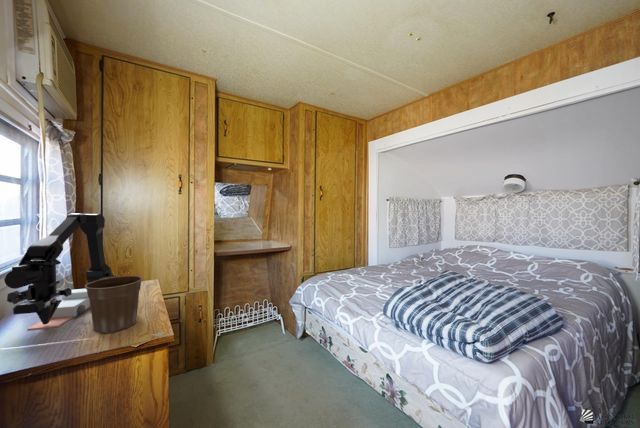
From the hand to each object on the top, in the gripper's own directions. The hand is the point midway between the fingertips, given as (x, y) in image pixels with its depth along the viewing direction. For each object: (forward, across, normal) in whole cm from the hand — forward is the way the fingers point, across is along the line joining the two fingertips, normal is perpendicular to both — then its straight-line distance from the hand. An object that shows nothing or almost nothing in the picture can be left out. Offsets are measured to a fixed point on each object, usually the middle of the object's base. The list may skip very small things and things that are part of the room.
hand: (45, 323), depth 92 cm
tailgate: (+1, -7, 0) cm, 7 cm away
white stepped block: (+2, -16, 0) cm, 16 cm away
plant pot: (+2, +5, +22) cm, 23 cm away
